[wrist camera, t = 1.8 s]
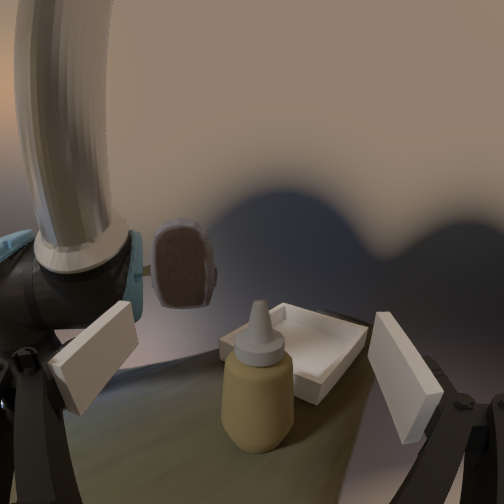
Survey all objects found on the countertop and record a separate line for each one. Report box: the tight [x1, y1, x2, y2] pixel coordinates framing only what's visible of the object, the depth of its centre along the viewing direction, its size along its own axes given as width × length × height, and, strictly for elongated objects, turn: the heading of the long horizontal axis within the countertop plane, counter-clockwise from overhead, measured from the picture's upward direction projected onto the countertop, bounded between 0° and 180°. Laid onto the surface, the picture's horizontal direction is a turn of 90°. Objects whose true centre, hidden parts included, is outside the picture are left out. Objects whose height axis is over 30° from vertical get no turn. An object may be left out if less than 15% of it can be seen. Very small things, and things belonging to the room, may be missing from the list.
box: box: [219, 303, 368, 406], centre depth 46 cm, size 18×18×4 cm
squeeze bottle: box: [221, 300, 294, 453], centre depth 27 cm, size 8×8×18 cm
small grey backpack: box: [150, 218, 217, 309], centre depth 63 cm, size 15×8×20 cm, turn 96°
